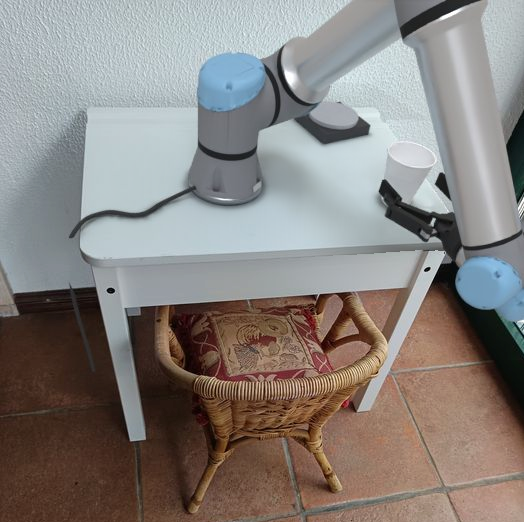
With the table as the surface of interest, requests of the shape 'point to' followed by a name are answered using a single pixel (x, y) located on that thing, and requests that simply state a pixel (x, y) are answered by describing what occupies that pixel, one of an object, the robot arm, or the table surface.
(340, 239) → the table surface
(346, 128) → the scale
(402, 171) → the cup
